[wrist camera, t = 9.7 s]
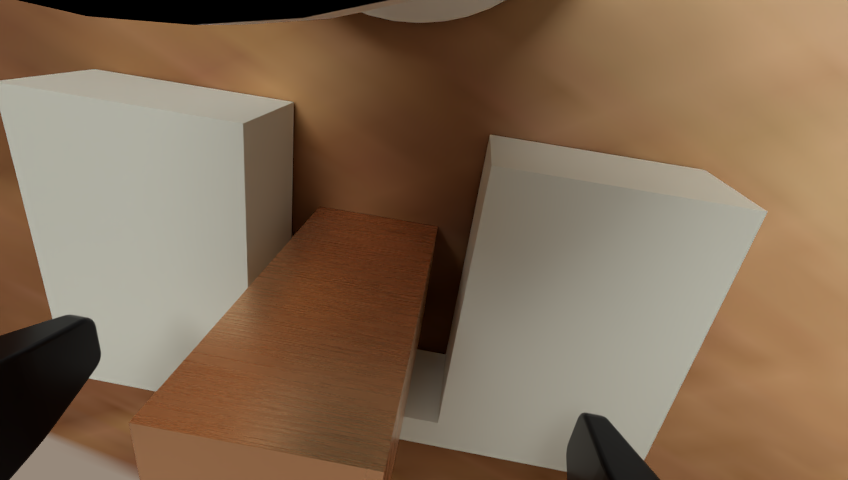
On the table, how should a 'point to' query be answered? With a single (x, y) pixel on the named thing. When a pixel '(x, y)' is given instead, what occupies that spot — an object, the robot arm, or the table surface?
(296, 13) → the bobbin
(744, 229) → the notched board
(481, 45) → the table surface
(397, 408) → the copper tab
